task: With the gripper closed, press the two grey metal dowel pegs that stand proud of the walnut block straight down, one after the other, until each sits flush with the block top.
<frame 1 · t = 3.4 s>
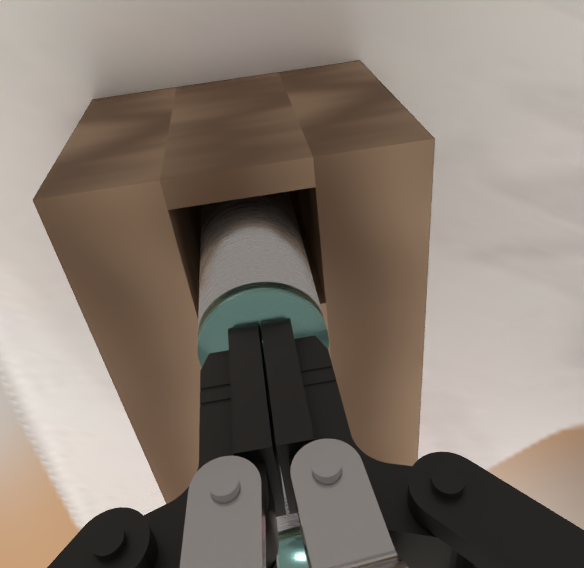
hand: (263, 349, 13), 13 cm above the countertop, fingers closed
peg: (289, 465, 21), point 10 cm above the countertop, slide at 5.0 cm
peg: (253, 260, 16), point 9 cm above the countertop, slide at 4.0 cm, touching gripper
walnut block: (254, 236, 26), on the countertop
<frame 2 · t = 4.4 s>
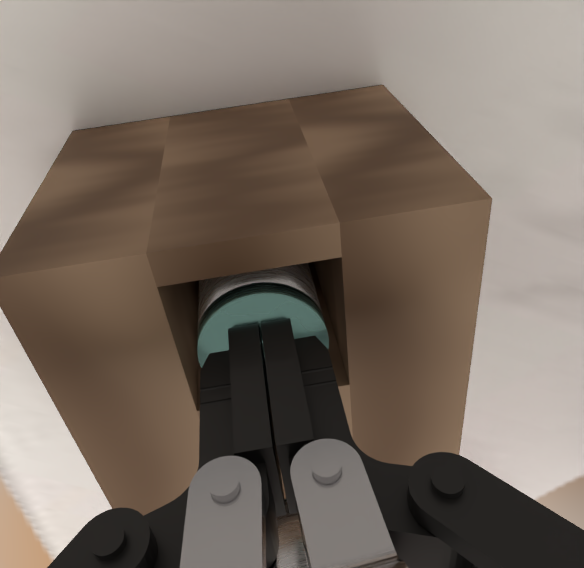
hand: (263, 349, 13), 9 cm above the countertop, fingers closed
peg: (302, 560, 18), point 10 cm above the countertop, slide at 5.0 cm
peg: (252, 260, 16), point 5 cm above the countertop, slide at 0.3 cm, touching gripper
walnut block: (259, 279, 23), on the countertop
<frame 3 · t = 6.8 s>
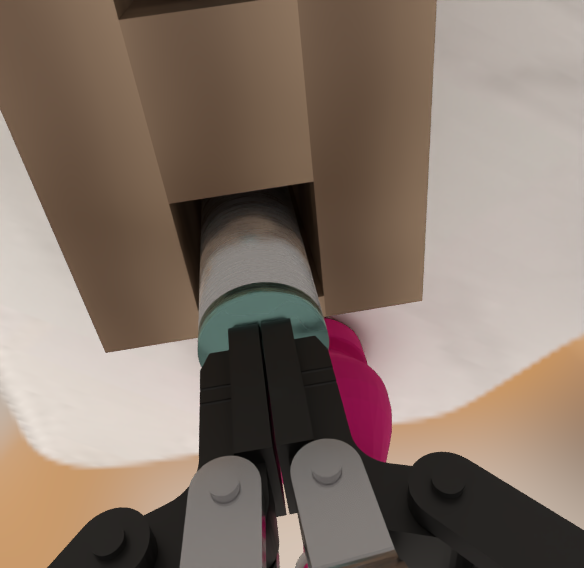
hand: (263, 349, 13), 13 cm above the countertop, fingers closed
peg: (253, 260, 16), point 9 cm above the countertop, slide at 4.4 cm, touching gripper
pepper mill: (309, 354, 32), on the countertop
walnut block: (220, 38, 21), on the countertop
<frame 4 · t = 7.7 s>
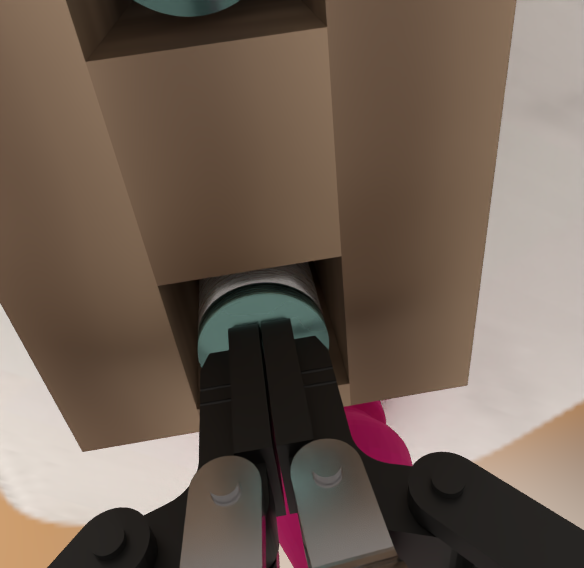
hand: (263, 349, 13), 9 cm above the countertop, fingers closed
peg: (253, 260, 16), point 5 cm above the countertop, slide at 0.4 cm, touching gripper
pepper mill: (320, 405, 29), on the countertop
walnut block: (222, 63, 18), on the countertop
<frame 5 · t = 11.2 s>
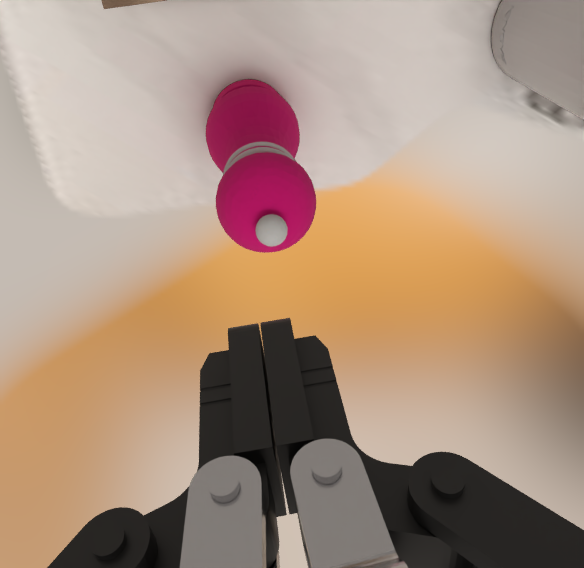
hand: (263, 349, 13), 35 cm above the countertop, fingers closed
pepper mill: (249, 116, 45), on the countertop
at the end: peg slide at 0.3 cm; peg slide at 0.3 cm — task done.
